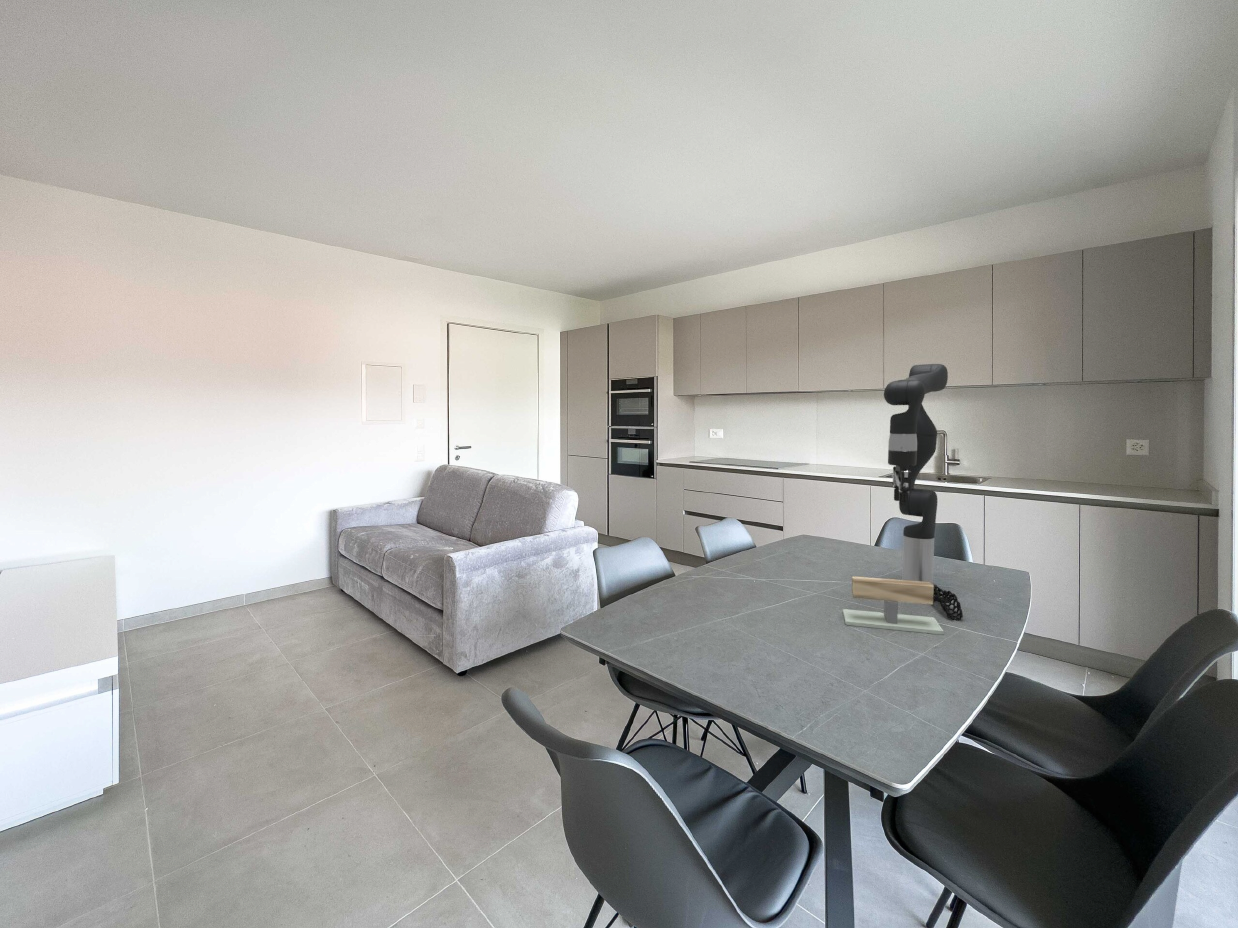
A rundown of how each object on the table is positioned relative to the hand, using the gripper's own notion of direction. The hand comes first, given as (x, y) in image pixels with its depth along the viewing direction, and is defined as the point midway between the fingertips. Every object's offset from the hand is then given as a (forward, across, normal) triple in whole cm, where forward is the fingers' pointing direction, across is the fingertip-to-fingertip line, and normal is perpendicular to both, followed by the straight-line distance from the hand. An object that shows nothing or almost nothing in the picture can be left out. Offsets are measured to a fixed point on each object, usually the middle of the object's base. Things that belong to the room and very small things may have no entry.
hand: (900, 503), depth 160 cm
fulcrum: (+32, +14, -4) cm, 35 cm away
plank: (+25, +14, -4) cm, 29 cm away
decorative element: (+33, -4, +13) cm, 35 cm away
